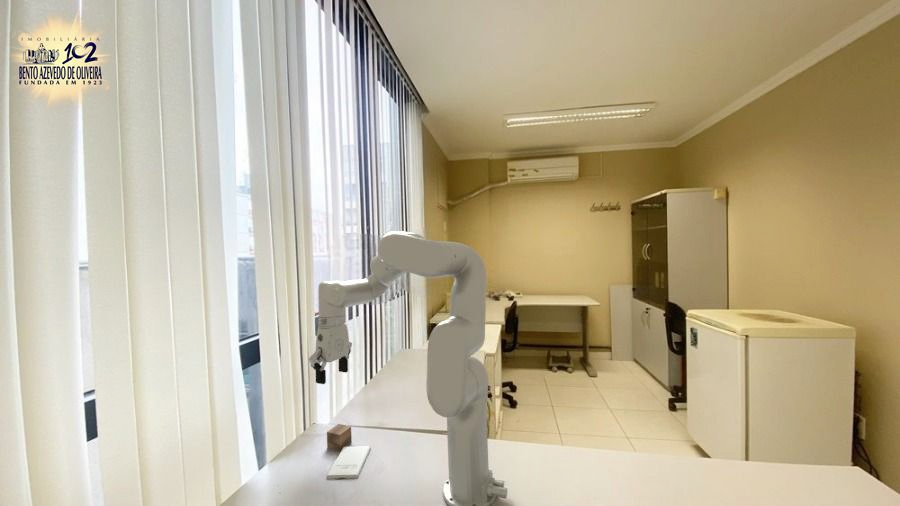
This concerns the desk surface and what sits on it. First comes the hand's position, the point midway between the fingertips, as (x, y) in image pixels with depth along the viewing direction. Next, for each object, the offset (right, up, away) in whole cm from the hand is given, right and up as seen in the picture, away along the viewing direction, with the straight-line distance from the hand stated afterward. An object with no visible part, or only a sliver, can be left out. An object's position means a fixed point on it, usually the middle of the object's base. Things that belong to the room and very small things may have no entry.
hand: (332, 377), depth 97 cm
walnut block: (+2, -21, 0) cm, 21 cm away
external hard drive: (+8, -21, -9) cm, 24 cm away
